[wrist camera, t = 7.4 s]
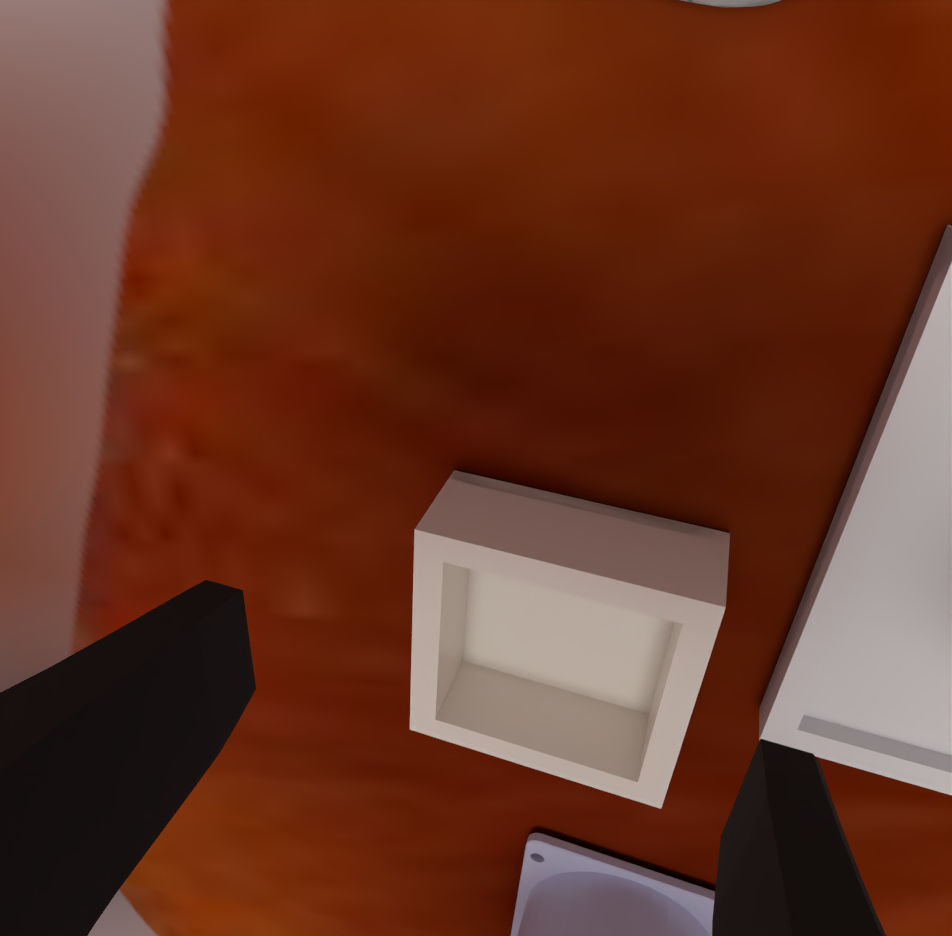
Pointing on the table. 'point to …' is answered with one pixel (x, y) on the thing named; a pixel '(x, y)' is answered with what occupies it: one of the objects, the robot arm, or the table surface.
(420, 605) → the square socket block
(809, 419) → the table surface
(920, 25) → the table surface
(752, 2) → the ceramic mug
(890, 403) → the tray
